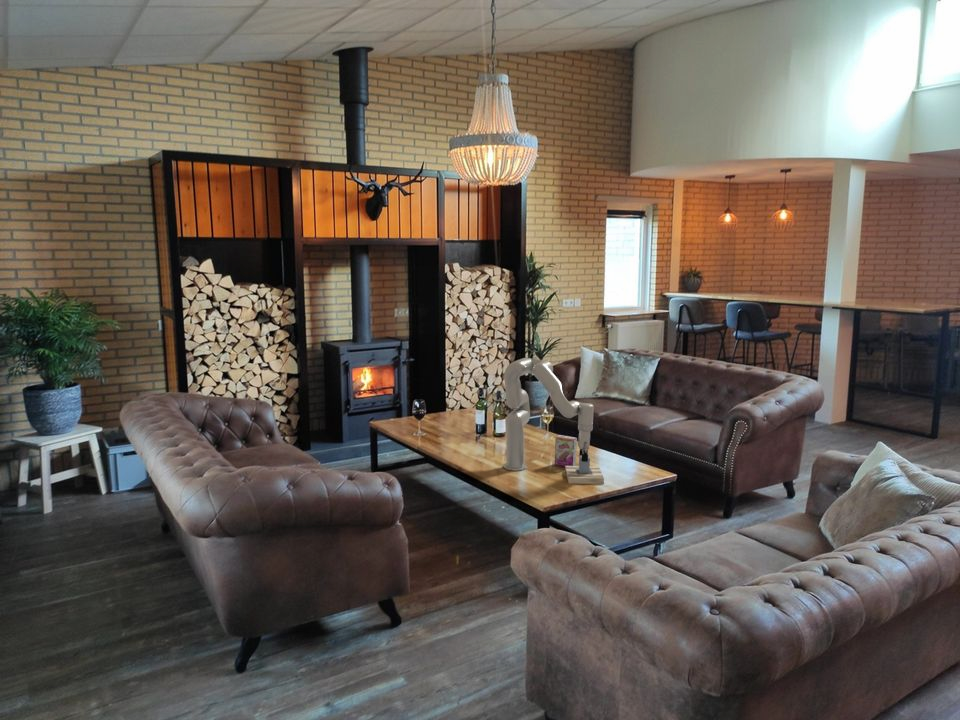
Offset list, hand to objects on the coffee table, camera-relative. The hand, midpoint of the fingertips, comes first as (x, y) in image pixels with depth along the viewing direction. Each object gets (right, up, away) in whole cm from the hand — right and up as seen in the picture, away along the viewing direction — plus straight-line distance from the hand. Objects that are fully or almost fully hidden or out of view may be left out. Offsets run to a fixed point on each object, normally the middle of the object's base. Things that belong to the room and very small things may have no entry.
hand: (583, 458), depth 374 cm
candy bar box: (-7, -7, +21) cm, 24 cm away
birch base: (0, -10, +1) cm, 10 cm away
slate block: (0, -7, +1) cm, 7 cm away
